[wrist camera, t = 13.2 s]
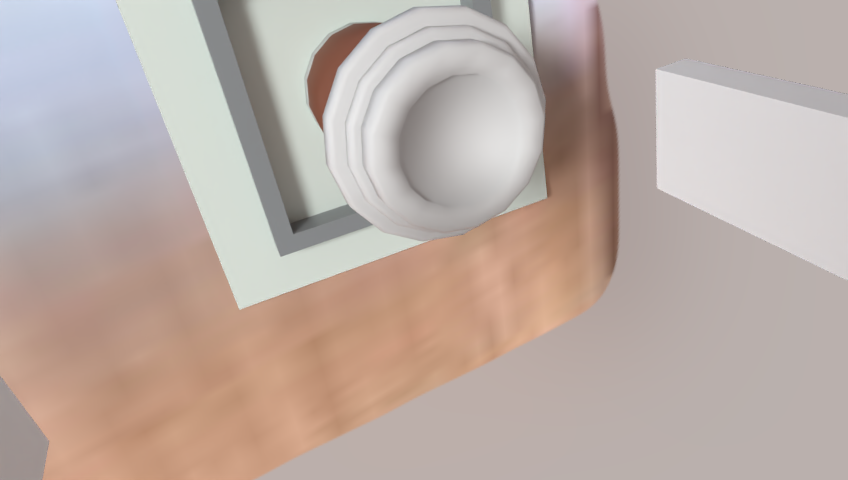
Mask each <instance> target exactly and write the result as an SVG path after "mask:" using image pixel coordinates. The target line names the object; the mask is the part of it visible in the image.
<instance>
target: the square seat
mask: <svg viewBox="0 0 848 480" xmlns="http://www.w3.org/2000/svg"><path fill="white" fill-rule="evenodd" d="M116 2H117V5H118V7H119V10H120V12H121V15H122V17H123V20H124V22H125V25H126V27H127V30H128V32H129V35H130V37H131V40H132V42H133V45H134V47H135V50H136V52H137V55H138V57H139V60H140V62H141V65H142V67H143V70H144V72H145V75H146V77H147V80H148V82H149V85H150V87H151V90H152V92H153V95H154V97H155V100H156V102H157V105H158V107H159V110H160V112H161V115H162V117H163V120H164V122H165V125H166V127H167V130H168V132H169V135H170V137H171V140H172V142H173V145H174V147H175V150H176V152H177V155H178V157H179V160H180V162H181V165H182V167H183V170H184V172H185V175H186V177H187V180H188V182H189V185H190V187H191V190H192V192H193V195H194V197H195V200H196V202H197V205H198V207H199V210H200V212H201V215H202V217H203V220H204V222H205V225H206V227H207V230H208V232H209V235H210V237H211V240H212V242H213V245H214V247H215V250H216V252H217V255H218V257H219V260H220V262H221V265H222V267H223V270H224V272H225V275H226V277H227V280H228V282H229V285H230V287H231V290H232V292H233V295H234V297H235V300H236V302H237V305H238V307H239V310H240V309H243V308H245V307H248V306H251V305H254V304H256V303H259V302H262V301H265V300H267V299H270V298H273V297H276V296H278V295H281V294H284V293H287V292H289V291H292V290H295V289H298V288H300V287H303V286H306V285H309V284H312V283H314V282H317V281H320V280H323V279H325V278H328V277H331V276H334V275H336V274H339V273H342V272H345V271H347V270H350V269H353V268H356V267H358V266H361V265H364V264H367V263H369V262H372V261H375V260H378V259H381V258H383V257H386V256H389V255H392V254H394V253H397V252H400V251H403V250H405V249H408V248H411V247H414V246H416V245H419V244H422V243H425V242H427V241H418V240H414V239H409V238H405V237H401V236H396V235H392V234H388V233H383V232H382V231H381V230H379V229H378V228H377V227H375V226H374V225H373V224H372V223H370V222H369V221H368V220H366V219H365V218H364V217H362V216H361V215H360V214H359V213H357V212H356V211H355V210H353V209H352V208H351V207H350V206H349V205H348V204H347V202H346V200H345V199H344V197H343V195H342V193H341V191H340V189H339V187H338V185H337V183H336V181H335V180H334V178H333V176H332V174H331V172H330V170H329V168H328V166H327V164H326V157H325V144H324V133H323V131H322V130H321V128H320V127H319V126H318V125H317V123H316V121H315V119H314V117H313V115H312V113H311V111H310V109H309V107H308V105H307V103H306V93H305V81H304V77H305V74H306V71H307V68H308V64H309V61H310V58H311V55H312V53H313V52H314V50H315V49H316V48H317V47H318V45H319V44H320V43H321V42H322V41H323V39H324V38H325V37H326V36H327V35H328V34H329V33H331V32H333V31H335V30H337V29H339V28H341V27H343V26H345V25H347V24H348V23H352V22H378V23H383V22H385V21H387V20H389V19H391V18H393V17H395V16H397V15H399V14H401V13H403V12H404V11H406V10H408V9H410V8H412V7H423V6H450V5H461V6H467V7H469V8H471V9H473V10H476V11H478V12H480V13H482V14H484V15H487V16H489V17H491V18H493V19H495V20H498V21H500V22H502V23H504V24H506V25H507V26H508V27H509V29H510V30H511V31H512V32H513V34H514V35H515V36H516V37H517V38H518V40H519V41H520V42H521V43H522V44H523V46H524V47H525V48H526V49H527V50H528V52H529V53H530V54H531V55H532V57H533V46H532V36H531V26H530V16H529V6H528V0H116ZM533 58H534V57H533ZM546 198H547V189H546V179H545V169H544V159H543V151H542V153H541V156H540V158H539V160H538V163H537V165H536V167H535V170H534V172H533V174H532V177H531V179H530V182H529V184H528V185H527V186H526V187H525V188H524V189H523V191H522V192H521V193H520V194H519V195H518V196H517V198H516V199H515V200H514V201H513V202H512V203H511V204H510V206H509V207H508V208H507V209H506V210H505V211H503V212H502V213H500V214H498V215H497V216H499V215H502V214H505V213H507V212H510V211H513V210H516V209H518V208H521V207H524V206H527V205H529V204H532V203H535V202H538V201H541V200H543V199H546ZM495 217H496V216H495ZM493 218H494V217H493ZM429 241H430V240H429Z"/></svg>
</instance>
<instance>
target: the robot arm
mask: <svg viewBox="0 0 848 480" xmlns="http://www.w3.org/2000/svg"><path fill="white" fill-rule="evenodd" d="M656 149H657V151H656V152H657V189H659V190H661V191H663V192H665V193H667V194H670V195H672V196H674V197H676V198H678V199H680V200H682V201H684V202H686V203H688V204H690V205H692V206H694V207H696V208H698V209H700V210H703V211H705V212H707V213H709V214H711V215H713V216H715V217H717V218H719V219H721V220H723V221H725V222H727V223H730V224H731V225H734V226H736V227H738V228H740V229H742V230H744V231H746V232H748V233H750V234H752V235H754V236H756V237H759V238H760V239H763V240H764V241H767V242H769V243H771V244H773V245H775V246H777V247H779V248H781V249H783V250H785V251H787V252H789V253H791V254H793V255H795V256H798V257H800V258H802V259H804V260H806V261H808V262H810V263H812V264H814V265H816V266H818V267H820V268H822V269H825V270H826V271H828V272H831V273H833V274H835V275H837V276H839V277H841V278H843V279H845V280H847V281H848V94H845V93H841V92H836V91H832V90H827V89H823V88H818V87H813V86H809V85H805V84H800V83H796V82H791V81H786V80H782V79H777V78H773V77H768V76H764V75H759V74H754V73H750V72H746V71H741V70H736V69H731V68H728V67H723V66H718V65H714V64H709V63H704V62H700V61H696V60H691V59H687V58H685V59H682V60H680V61H677V62H674V63H671V64H669V65H666V66H663V67H660V68H657V69H656ZM48 445H49V440H48V439H47V438H46V436H45V435H44V434H43V432H42V431H41V430H40V428H39V427H38V426H37V424H36V423H35V422H34V420H33V419H32V418H31V416H30V415H29V414H28V412H27V411H26V410H25V408H24V407H23V406H22V404H21V403H20V402H19V400H18V399H17V398H16V396H15V395H14V394H13V392H12V391H11V390H10V388H9V387H8V386H7V384H6V383H5V382H4V380H3V379H2V378H1V376H0V480H42V478H43V473H44V467H45V461H46V456H47V450H48Z"/></svg>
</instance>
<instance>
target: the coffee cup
mask: <svg viewBox="0 0 848 480" xmlns="http://www.w3.org/2000/svg"><path fill="white" fill-rule="evenodd" d="M304 81H305V93H306V103H307V105H308V107H309V109H310V111H311V113H312V115H313V117H314V119H315V121H316V123H317V125H318V126H319V127H320V128H321V130H322V131H323V133H324V144H325V157H326V164H327V166H328V168H329V170H330V172H331V174H332V176H333V178H334V180H335V181H336V183H337V185H338V187H339V189H340V191H341V193H342V195H343V197H344V199H345V200H346V202H347V204H348V205H349V206H350V207H351V208H352V209H353V210H355V211H356V212H357V213H359V214H360V215H361V216H362V217H364V218H365V219H366V220H368V221H369V222H370V223H372V224H373V225H374V226H375V227H377V228H378V229H379V230H381V231H382V232H383V233H388V234H392V235H396V236H401V237H405V238H409V239H414V240H418V241H429V240H435V239H441V238H446V237H452V236H458V235H463V234H465V233H467V232H468V231H470V230H472V229H473V228H476V227H478V226H480V225H481V224H483V223H485V222H486V221H488V220H490V219H491V218H493V217H495V216H497V215H498V214H500V213H502V212H503V211H505V210H506V209H507V208H508V207H509V206H510V204H511V203H512V202H513V201H514V200H515V199H516V198H517V196H518V195H519V194H520V193H521V192H522V191H523V189H524V188H525V187H526V186H527V185H528V184H529V182H530V179H531V177H532V174H533V172H534V170H535V167H536V165H537V163H538V160H539V158H540V156H541V153H542V151H543V140H544V127H545V103H546V99H545V95H544V92H543V88H542V85H541V82H540V78H539V75H538V71H537V68H536V64H535V61H534V58H533V57H532V55H531V54H530V53H529V52H528V50H527V49H526V48H525V47H524V46H523V44H522V43H521V42H520V41H519V40H518V38H517V37H516V36H515V35H514V34H513V32H512V31H511V30H510V29H509V27H508V26H507V25H506V24H504V23H502V22H500V21H498V20H495V19H493V18H491V17H489V16H487V15H484V14H482V13H480V12H478V11H476V10H473V9H471V8H469V7H467V6H461V5H450V6H423V7H412V8H410V9H408V10H406V11H404V12H403V13H401V14H399V15H397V16H395V17H393V18H391V19H389V20H387V21H385V22H383V23H378V22H352V23H348V24H347V25H345V26H343V27H341V28H339V29H337V30H335V31H333V32H331V33H329V34H328V35H327V36H326V37H325V38H324V39H323V41H322V42H321V43H320V44H319V45H318V47H317V48H316V49H315V50H314V52H313V53H312V55H311V58H310V61H309V64H308V68H307V71H306V74H305V77H304Z"/></svg>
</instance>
